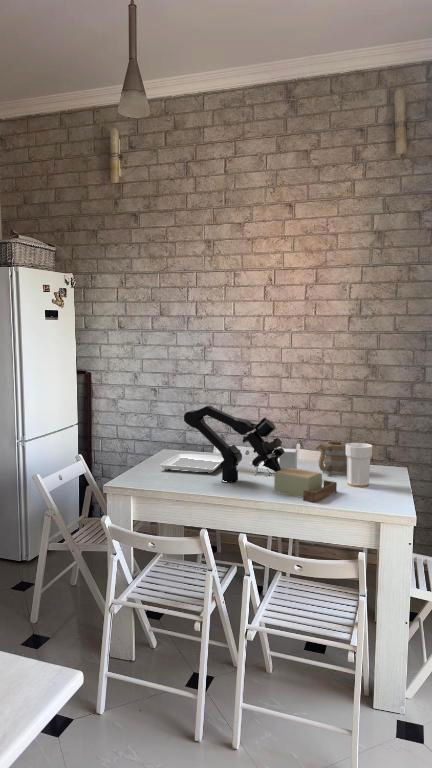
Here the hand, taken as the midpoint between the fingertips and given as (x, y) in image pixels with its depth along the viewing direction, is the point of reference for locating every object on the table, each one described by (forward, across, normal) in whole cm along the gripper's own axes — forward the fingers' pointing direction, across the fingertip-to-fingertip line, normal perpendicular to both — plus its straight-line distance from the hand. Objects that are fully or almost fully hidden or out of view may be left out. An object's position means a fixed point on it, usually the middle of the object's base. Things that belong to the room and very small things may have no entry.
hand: (280, 473), depth 236 cm
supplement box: (0, +19, +10) cm, 21 cm away
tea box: (+11, 0, -1) cm, 11 cm away
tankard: (+9, +38, +1) cm, 39 cm away
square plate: (-33, +10, +43) cm, 55 cm away
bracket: (+18, 0, -8) cm, 19 cm away
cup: (+22, +26, -12) cm, 36 cm away
